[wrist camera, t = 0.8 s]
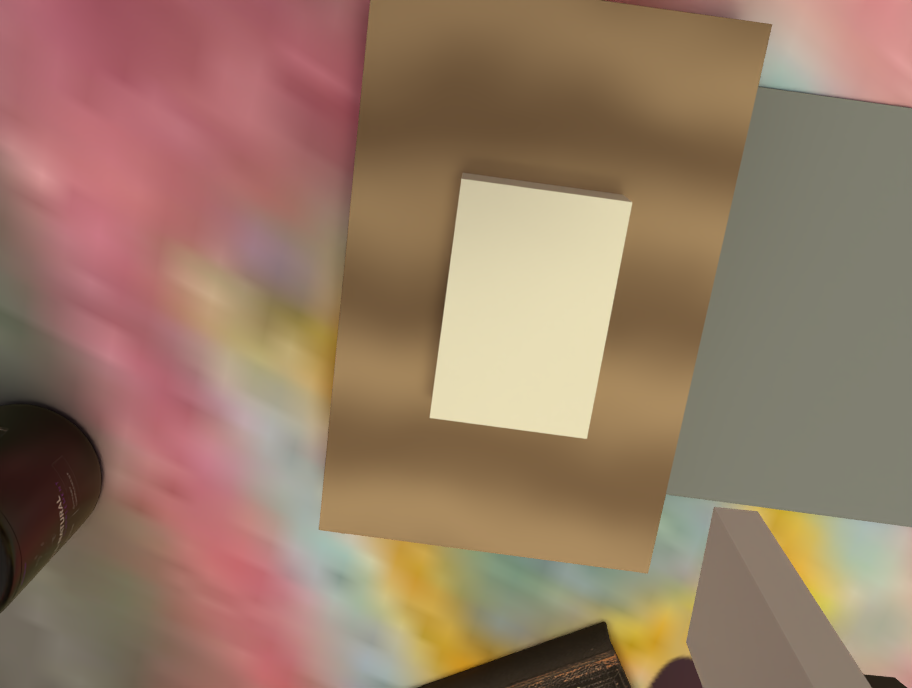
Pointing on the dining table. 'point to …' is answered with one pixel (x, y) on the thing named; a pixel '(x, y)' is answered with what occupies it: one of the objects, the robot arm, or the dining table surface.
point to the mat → (810, 319)
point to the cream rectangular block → (528, 304)
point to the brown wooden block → (548, 162)
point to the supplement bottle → (40, 491)
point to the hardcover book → (550, 665)
